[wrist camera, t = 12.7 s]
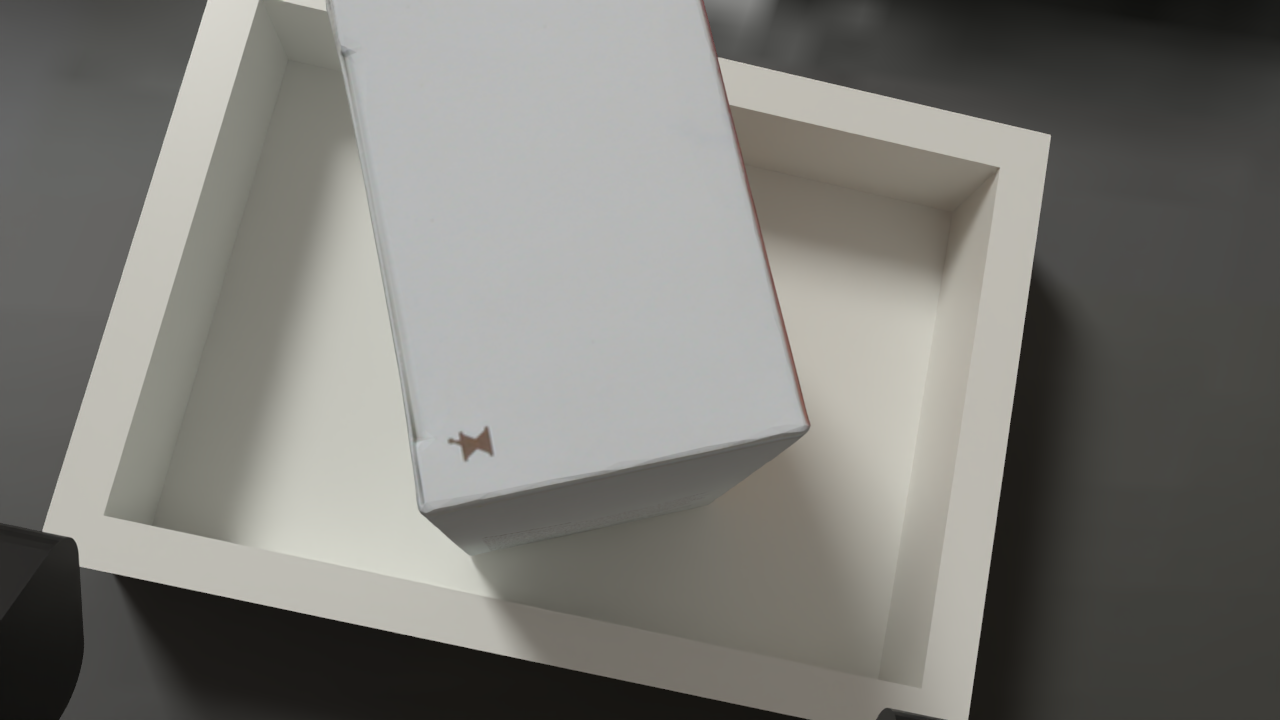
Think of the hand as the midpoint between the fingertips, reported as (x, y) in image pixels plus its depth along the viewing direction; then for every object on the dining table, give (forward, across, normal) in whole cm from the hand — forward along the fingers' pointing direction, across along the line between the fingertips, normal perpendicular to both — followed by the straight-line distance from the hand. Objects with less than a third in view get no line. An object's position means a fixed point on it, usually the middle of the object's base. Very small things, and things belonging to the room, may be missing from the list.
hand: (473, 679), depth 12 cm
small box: (+15, 0, +6) cm, 16 cm away
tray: (+15, 0, +6) cm, 16 cm away
